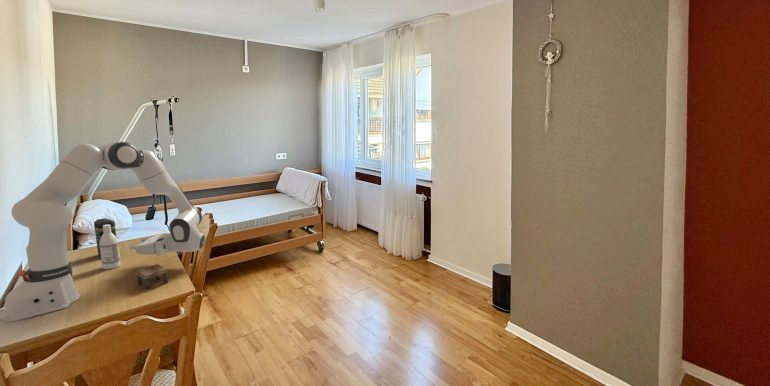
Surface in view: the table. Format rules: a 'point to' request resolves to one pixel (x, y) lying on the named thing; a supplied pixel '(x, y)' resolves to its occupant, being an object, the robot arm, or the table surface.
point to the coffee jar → (99, 230)
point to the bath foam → (109, 249)
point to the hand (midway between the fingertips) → (136, 243)
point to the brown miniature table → (151, 274)
